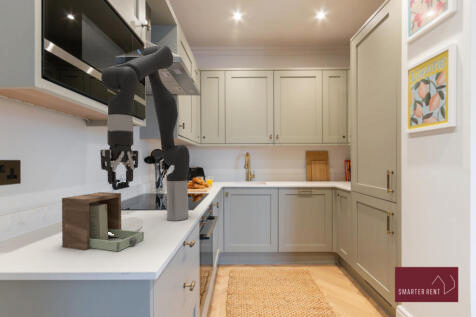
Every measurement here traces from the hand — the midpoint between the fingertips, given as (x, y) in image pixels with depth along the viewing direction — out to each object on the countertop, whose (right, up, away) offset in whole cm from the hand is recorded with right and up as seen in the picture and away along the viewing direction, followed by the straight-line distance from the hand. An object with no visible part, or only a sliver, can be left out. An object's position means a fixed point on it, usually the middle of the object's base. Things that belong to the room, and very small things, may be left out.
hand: (121, 182), depth 82 cm
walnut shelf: (-11, -20, +4) cm, 23 cm away
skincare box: (-10, -20, +3) cm, 23 cm away
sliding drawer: (-4, -19, +1) cm, 20 cm away
